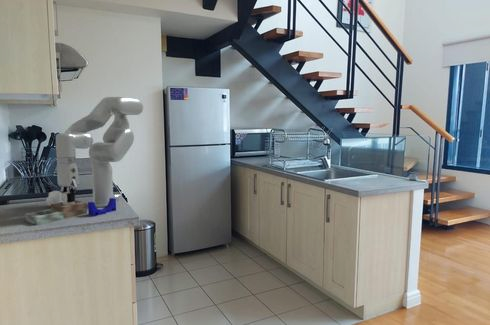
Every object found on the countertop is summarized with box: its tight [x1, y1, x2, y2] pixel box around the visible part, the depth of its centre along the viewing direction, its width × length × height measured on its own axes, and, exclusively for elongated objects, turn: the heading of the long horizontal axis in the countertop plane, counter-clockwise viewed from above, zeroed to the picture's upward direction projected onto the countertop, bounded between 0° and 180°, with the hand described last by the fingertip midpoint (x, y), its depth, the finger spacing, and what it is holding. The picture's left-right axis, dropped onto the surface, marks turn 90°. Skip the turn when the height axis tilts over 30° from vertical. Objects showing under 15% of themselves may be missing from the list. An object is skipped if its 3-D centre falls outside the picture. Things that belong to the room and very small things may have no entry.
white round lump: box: [45, 190, 62, 207], centre depth 171 cm, size 8×8×8 cm
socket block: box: [23, 199, 88, 226], centre depth 152 cm, size 22×10×5 cm, turn 147°
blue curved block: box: [87, 198, 117, 217], centre depth 159 cm, size 12×4×6 cm, turn 142°
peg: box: [61, 192, 75, 205], centre depth 156 cm, size 4×4×10 cm
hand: (68, 200), depth 156 cm, fingers closed on peg, 3 cm apart
